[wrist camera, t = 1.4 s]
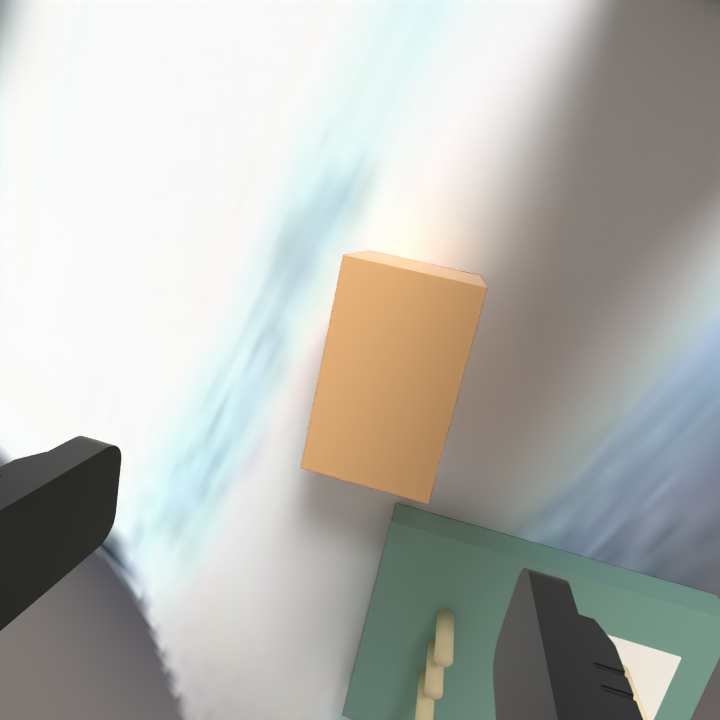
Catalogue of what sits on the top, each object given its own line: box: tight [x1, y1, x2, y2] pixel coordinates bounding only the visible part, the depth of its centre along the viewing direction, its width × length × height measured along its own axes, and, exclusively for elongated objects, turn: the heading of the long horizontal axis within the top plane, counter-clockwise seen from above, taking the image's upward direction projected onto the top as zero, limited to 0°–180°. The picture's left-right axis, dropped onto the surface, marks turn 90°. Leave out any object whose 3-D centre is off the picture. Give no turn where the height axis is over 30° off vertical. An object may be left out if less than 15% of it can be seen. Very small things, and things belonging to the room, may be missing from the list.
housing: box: [301, 251, 487, 504], centre depth 24 cm, size 6×9×6 cm, turn 168°
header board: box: [342, 503, 720, 720], centre depth 28 cm, size 17×13×5 cm
